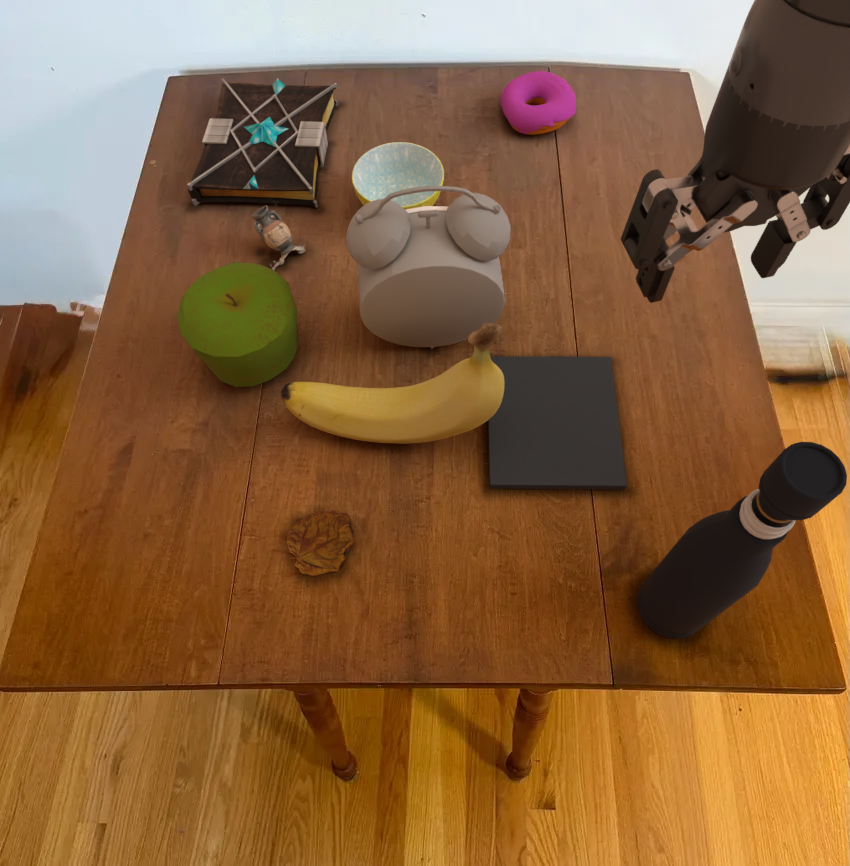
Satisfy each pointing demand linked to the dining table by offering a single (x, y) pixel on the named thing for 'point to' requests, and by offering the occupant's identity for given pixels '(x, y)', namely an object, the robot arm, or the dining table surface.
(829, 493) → the insulated water bottle
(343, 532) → the leaf
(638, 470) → the dining table surface
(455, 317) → the alarm clock
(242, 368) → the apple
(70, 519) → the dining table surface
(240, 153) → the book
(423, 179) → the bowl
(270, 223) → the vase
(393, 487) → the dining table surface
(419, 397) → the banana
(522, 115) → the donut
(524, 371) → the mat
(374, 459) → the dining table surface
